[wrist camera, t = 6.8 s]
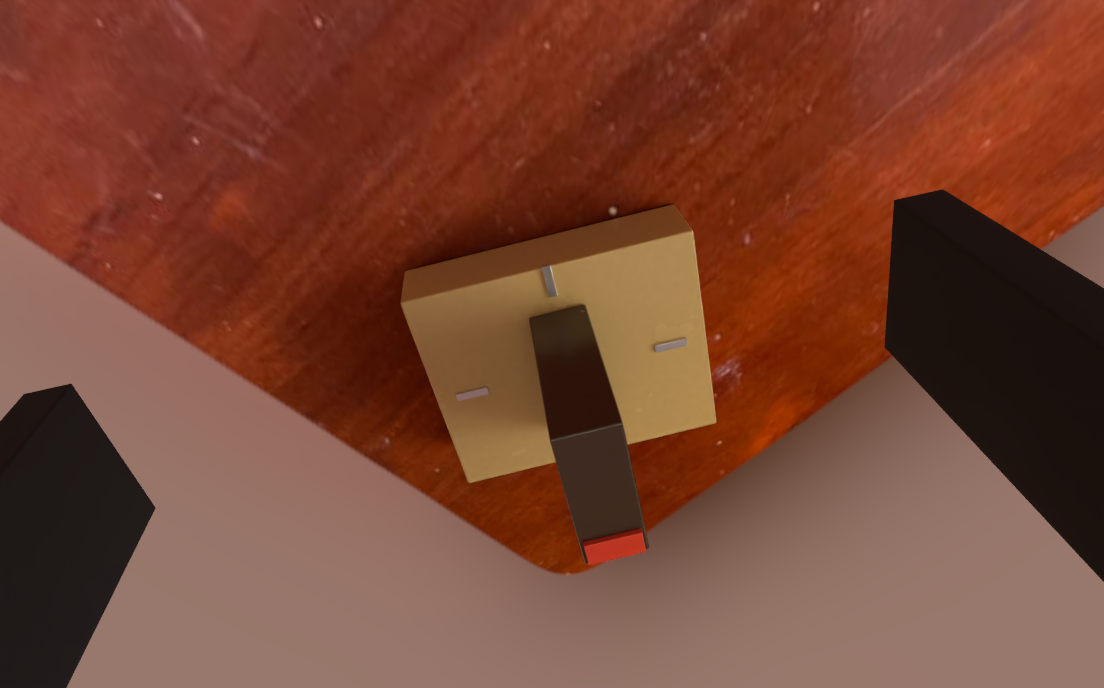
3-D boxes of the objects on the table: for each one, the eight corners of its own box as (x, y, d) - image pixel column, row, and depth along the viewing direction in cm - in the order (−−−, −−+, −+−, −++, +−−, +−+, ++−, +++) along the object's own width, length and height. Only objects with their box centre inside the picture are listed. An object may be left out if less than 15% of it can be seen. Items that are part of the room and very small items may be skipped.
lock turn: (528, 317, 30) (550, 445, 23) (585, 303, 30) (624, 426, 23) (558, 428, 33) (586, 570, 26) (610, 415, 33) (651, 554, 26)
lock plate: (468, 445, 37) (468, 487, 34) (403, 268, 32) (398, 303, 29) (699, 388, 37) (718, 427, 34) (674, 200, 31) (694, 229, 29)
